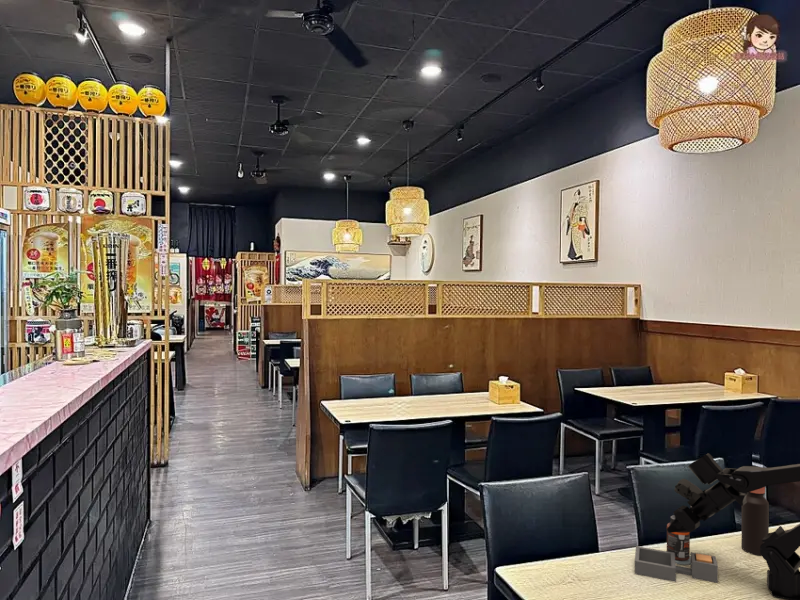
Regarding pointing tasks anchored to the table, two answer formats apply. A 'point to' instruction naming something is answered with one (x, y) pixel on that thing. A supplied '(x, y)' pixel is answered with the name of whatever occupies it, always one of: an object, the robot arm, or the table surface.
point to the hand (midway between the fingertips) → (674, 526)
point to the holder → (672, 565)
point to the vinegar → (754, 521)
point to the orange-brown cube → (703, 558)
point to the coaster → (683, 562)
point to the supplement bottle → (678, 543)
